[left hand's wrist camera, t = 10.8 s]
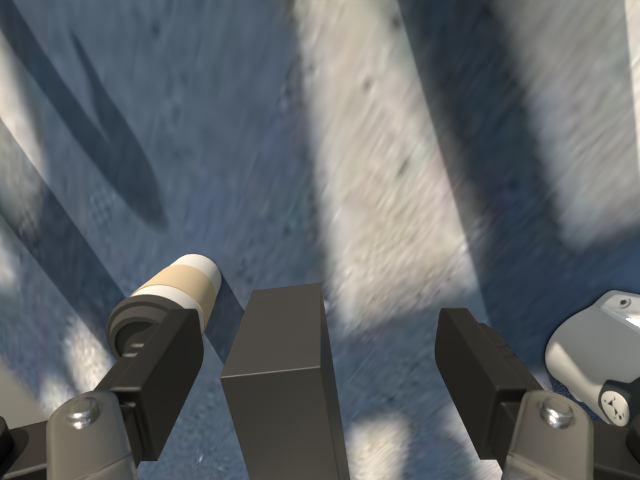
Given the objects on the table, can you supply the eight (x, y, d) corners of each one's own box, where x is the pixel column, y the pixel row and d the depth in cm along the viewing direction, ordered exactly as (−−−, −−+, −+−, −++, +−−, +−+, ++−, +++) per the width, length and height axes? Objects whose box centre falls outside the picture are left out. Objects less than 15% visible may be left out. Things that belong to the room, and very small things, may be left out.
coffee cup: (169, 308, 48) (106, 389, 34) (155, 247, 45) (80, 309, 31) (234, 305, 48) (198, 386, 34) (225, 245, 45) (181, 306, 30)
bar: (252, 290, 26) (219, 378, 18) (320, 282, 26) (320, 366, 17) (304, 517, 35) (299, 646, 27) (355, 513, 35) (366, 641, 27)
